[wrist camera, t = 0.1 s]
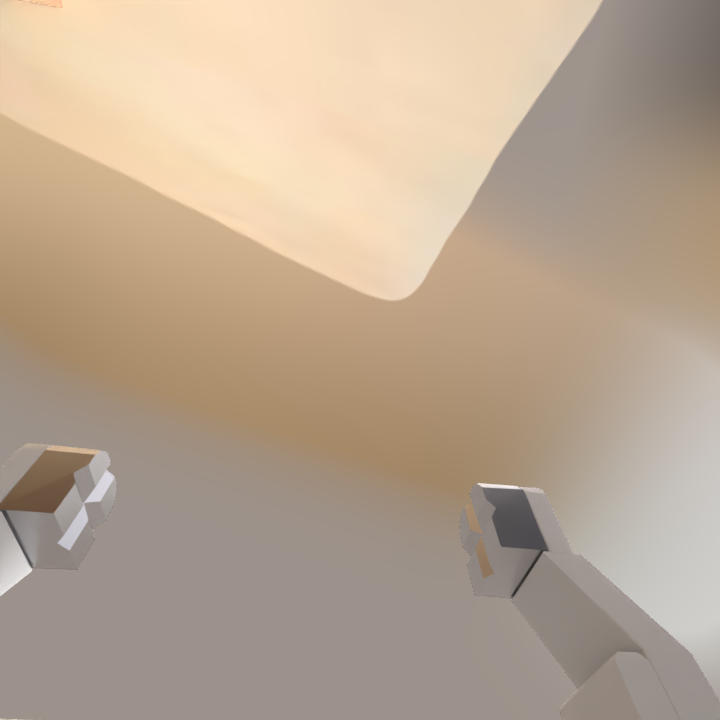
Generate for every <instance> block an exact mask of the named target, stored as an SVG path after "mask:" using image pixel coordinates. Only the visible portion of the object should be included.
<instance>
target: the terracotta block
mask: <svg viewBox="0 0 720 720" xmlns="http://www.w3.org/2000/svg"><path fill="white" fill-rule="evenodd" d="M21 1H26V2H32V3H38V4H43V5H49V6H54V7H60V8H62V2H61V0H21Z"/></svg>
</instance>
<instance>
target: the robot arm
mask: <svg viewBox="0 0 720 720" xmlns="http://www.w3.org/2000/svg"><path fill="white" fill-rule="evenodd" d="M110 464H111V461H110V458H109V455H108V452H105V451H100V450H91V449H83V448H74V447H65V446H56V445H45V444H35V443H28V444H26V445H24V446H22V447H20V448H19V449H18V450H17V451H16V452H15V453H14V454H13V455H12V456H11V457H10V458H9V460H8V461H6V463H5V464H4V465H3V466H2V467H1V468H0V596H1V595H2V594H3V593H5V592H6V591H7V590H9V588H11V587H12V586H14V585H15V584H16V583H17V582H19V581H20V580H21V579H22V578H23V577H25V576H26V575H27V574H29V573H30V572H31V571H32V569H31V568H41V569H68V570H77V569H78V568H79V566H80V564H81V563H82V561H83V559H84V557H85V556H86V554H87V552H88V551H89V549H90V547H91V545H92V544H93V542H94V540H95V538H94V534H93V529H94V528H95V527H97V526H99V525H100V524H101V523H103V522H104V521H106V519H107V517H108V516H109V514H110V512H111V510H112V508H113V505H114V502H115V498H116V495H117V494H116V493H117V492H116V491H117V484H116V480H115V477H114V476H113V475H112V474H111V473H110V472H108V471H107V468H108V467H109V465H110ZM470 497H471V500H472V501H471V502H470V503H468V504H467V505H465V506H464V508H463V511H462V513H461V519H460V536H461V541H462V545H463V548H464V549H465V550H466V551H467V552H468V553H469V555H470V556H471V559H470V561H469V563H468V565H467V567H468V571H469V575H470V579H471V584H472V588H473V592H474V595H476V596H487V597H499V598H509V599H512V603H513V604H514V605H515V607H516V608H517V609H518V610H519V612H520V613H521V614H522V616H523V617H524V618H525V620H526V621H527V622H528V624H529V625H530V626H531V628H532V629H533V630H534V632H535V633H536V634H537V636H538V637H539V638H540V640H541V641H542V642H543V644H544V645H545V646H546V648H547V649H548V650H549V652H550V653H551V654H552V655H553V657H554V658H555V659H556V661H557V662H558V663H559V665H560V666H561V667H562V669H563V670H564V671H565V673H566V674H567V675H568V677H569V678H570V679H571V680H572V682H573V683H574V685H575V686H576V687H577V690H576V691H575V692H574V693H573V694H572V695H571V696H570V697H569V698H568V699H567V700H566V701H564V702H563V704H562V706H561V708H560V709H559V710H560V714H561V716H562V720H720V701H719V699H718V697H717V696H716V694H715V692H714V691H713V689H712V687H711V686H710V684H709V682H708V680H707V679H706V677H705V676H704V674H703V672H702V670H701V669H700V668H699V665H698V664H697V662H696V660H695V659H694V657H693V655H692V654H691V653H690V652H689V651H688V650H687V649H685V647H683V646H682V645H681V644H680V643H679V642H678V641H677V640H676V639H674V638H673V637H672V636H671V635H670V634H669V633H668V632H667V631H666V630H664V629H663V628H662V627H661V626H660V625H659V624H658V623H657V622H655V621H654V620H653V619H652V618H651V617H650V616H649V615H648V614H647V613H645V612H644V611H643V610H642V609H641V608H640V607H639V606H638V605H637V604H635V603H634V602H633V601H632V600H631V599H630V598H629V597H628V596H627V595H625V594H624V593H623V592H622V591H621V590H620V589H619V588H618V587H616V586H615V585H614V584H613V583H612V582H611V581H610V580H609V579H607V578H606V577H605V576H604V575H603V574H602V573H601V572H600V571H599V570H597V569H596V568H595V567H594V566H593V565H592V564H591V563H590V562H589V561H587V560H586V559H585V558H584V557H583V556H582V555H581V554H574V552H573V550H572V548H571V547H570V544H569V542H568V540H567V538H566V536H565V534H564V532H563V530H562V528H561V526H560V523H559V521H558V519H557V517H556V515H555V513H554V511H553V509H552V507H551V505H550V503H549V500H548V498H547V496H546V494H545V493H544V491H542V489H540V488H530V487H517V486H509V485H495V484H482V483H476V484H475V485H474V486H473V487H472V490H471V492H470ZM0 720H30V719H0Z"/></svg>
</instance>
